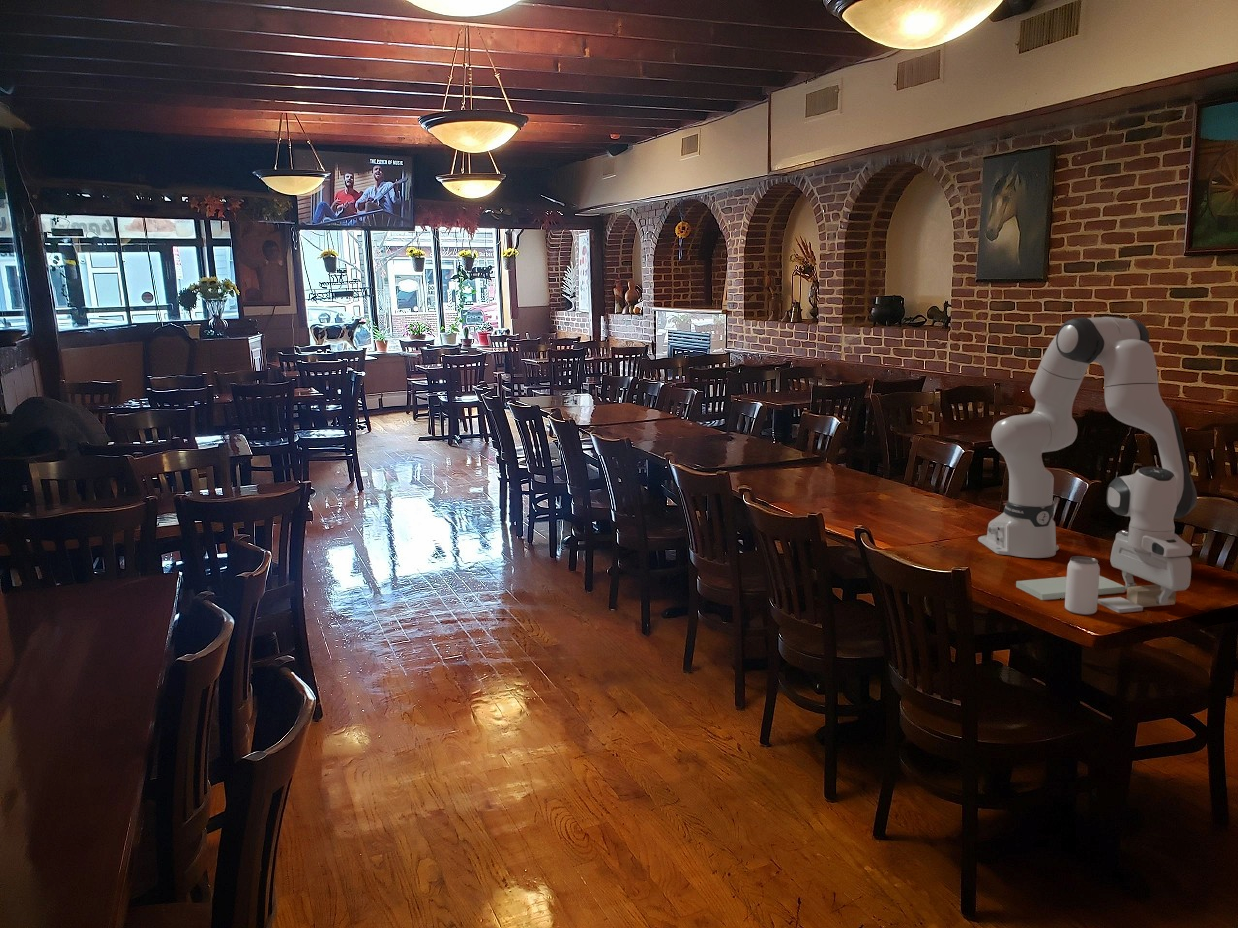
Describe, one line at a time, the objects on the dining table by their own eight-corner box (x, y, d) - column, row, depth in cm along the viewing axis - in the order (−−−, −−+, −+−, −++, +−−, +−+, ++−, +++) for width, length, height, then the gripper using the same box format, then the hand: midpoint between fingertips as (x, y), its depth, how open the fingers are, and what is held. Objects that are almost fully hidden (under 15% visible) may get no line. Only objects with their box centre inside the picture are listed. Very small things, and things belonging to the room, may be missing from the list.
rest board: (1016, 586, 213) (1016, 581, 213) (1095, 579, 217) (1096, 573, 217) (1042, 600, 204) (1042, 594, 203) (1124, 592, 207) (1125, 586, 207)
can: (1100, 616, 193) (1104, 564, 191) (1069, 614, 194) (1072, 563, 192) (1091, 606, 199) (1095, 556, 197) (1060, 604, 200) (1064, 555, 198)
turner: (1097, 603, 201) (1098, 586, 200) (1157, 597, 204) (1159, 581, 203) (1119, 613, 194) (1120, 596, 194) (1181, 607, 197) (1183, 590, 196)
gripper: (1105, 528, 206) (1101, 584, 208) (1173, 552, 186) (1167, 613, 189) (1129, 526, 207) (1124, 581, 209) (1199, 550, 187) (1193, 610, 190)
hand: (1145, 597), depth 199 cm, fingers open, 8 cm apart
